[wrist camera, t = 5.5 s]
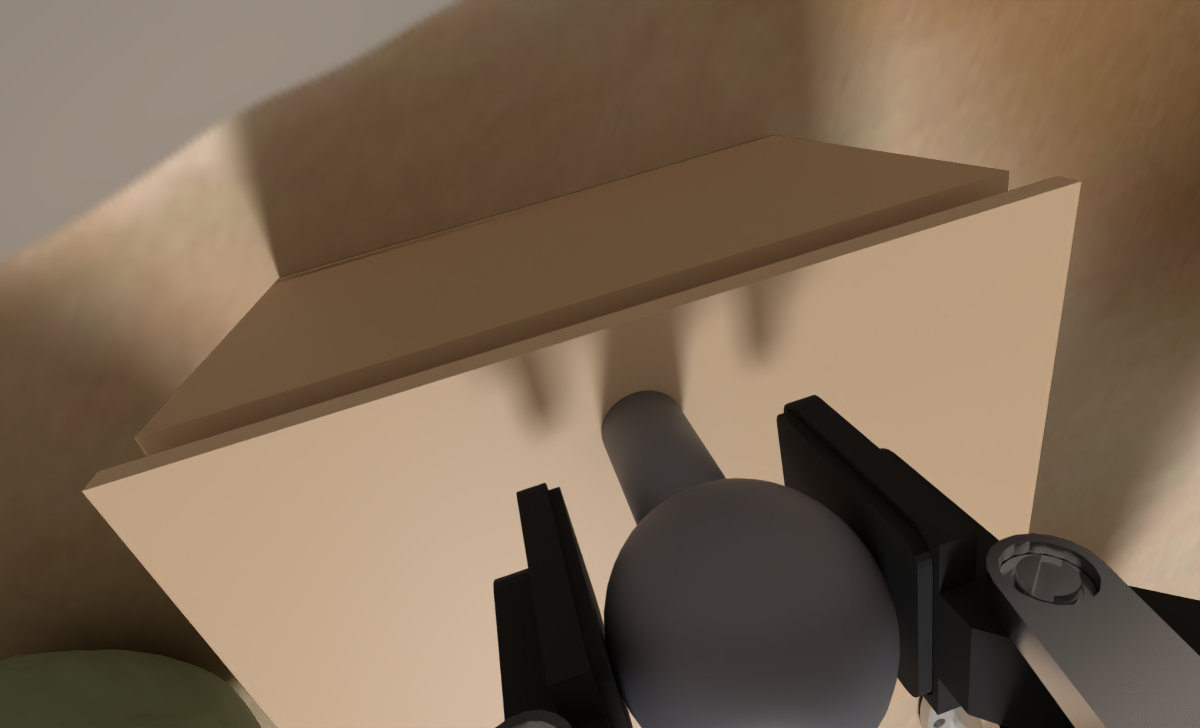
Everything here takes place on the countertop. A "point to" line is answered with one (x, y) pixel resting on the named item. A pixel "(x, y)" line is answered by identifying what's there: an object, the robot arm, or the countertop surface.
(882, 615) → the lid
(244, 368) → the carton
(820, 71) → the countertop surface
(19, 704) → the green lumpy rounded blob
